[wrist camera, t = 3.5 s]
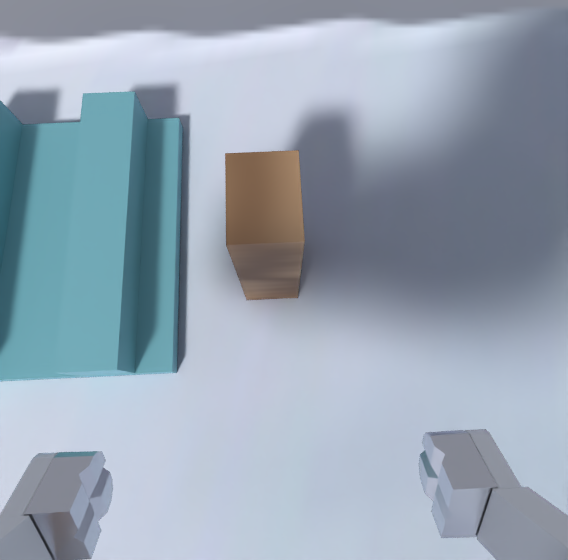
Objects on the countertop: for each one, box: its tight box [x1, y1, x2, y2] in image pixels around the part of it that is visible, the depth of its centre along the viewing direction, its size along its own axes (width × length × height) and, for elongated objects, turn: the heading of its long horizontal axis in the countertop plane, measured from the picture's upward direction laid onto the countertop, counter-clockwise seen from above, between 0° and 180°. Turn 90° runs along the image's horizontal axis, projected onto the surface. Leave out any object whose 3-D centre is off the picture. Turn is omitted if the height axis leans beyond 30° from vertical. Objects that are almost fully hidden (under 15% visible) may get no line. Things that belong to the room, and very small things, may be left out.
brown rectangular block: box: [225, 150, 305, 300], centre depth 21 cm, size 3×4×9 cm
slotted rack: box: [0, 92, 183, 381], centre depth 24 cm, size 15×16×4 cm
